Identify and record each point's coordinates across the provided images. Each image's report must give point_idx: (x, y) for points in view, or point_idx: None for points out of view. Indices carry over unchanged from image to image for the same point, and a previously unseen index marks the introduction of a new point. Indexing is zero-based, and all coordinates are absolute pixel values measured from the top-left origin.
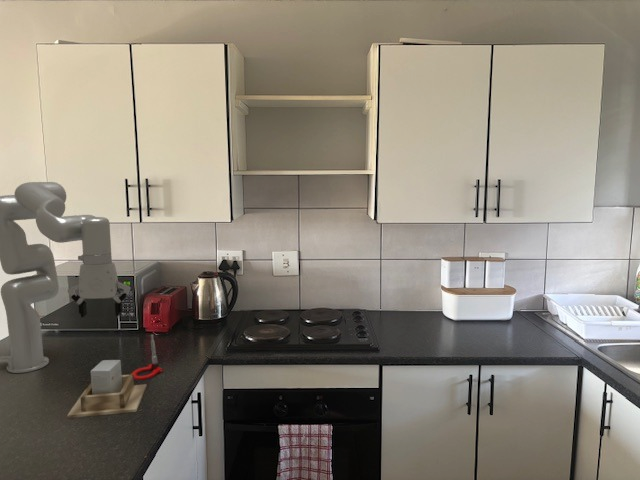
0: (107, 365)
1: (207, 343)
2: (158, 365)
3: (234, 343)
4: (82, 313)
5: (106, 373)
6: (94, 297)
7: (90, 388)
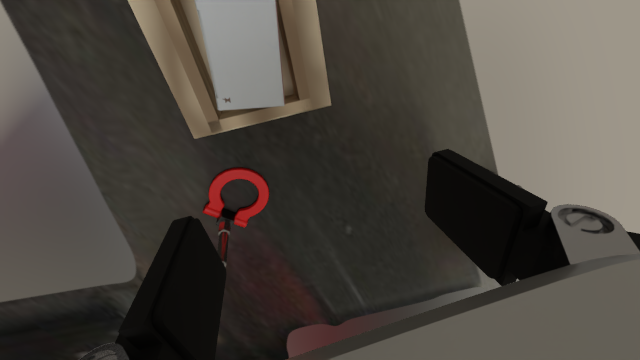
0: (235, 52)
1: None
2: (217, 220)
3: None
4: (455, 163)
5: None
6: (465, 322)
7: (286, 30)
